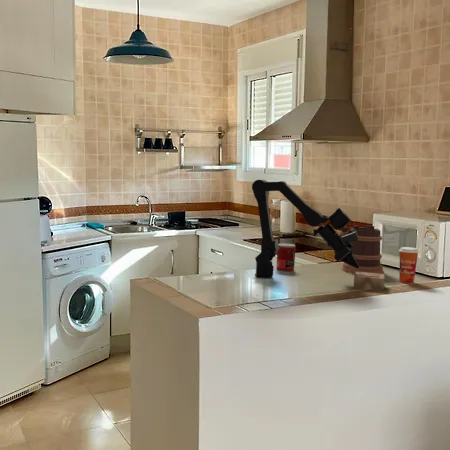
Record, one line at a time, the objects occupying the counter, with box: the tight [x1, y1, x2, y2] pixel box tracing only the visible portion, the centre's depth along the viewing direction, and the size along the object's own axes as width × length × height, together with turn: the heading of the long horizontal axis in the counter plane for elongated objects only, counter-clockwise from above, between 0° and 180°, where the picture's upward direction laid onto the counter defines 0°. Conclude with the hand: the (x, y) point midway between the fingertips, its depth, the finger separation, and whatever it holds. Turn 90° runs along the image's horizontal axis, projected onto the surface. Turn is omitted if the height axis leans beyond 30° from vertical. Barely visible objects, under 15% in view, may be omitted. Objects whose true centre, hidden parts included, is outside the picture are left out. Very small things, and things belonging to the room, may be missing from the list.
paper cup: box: [398, 246, 420, 284], centre depth 239 cm, size 8×8×14 cm
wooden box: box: [353, 272, 385, 292], centre depth 226 cm, size 5×10×11 cm
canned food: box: [275, 242, 296, 272], centre depth 256 cm, size 8×8×11 cm
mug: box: [339, 225, 385, 275], centre depth 262 cm, size 18×23×20 cm
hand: (358, 267), depth 227 cm, fingers closed
